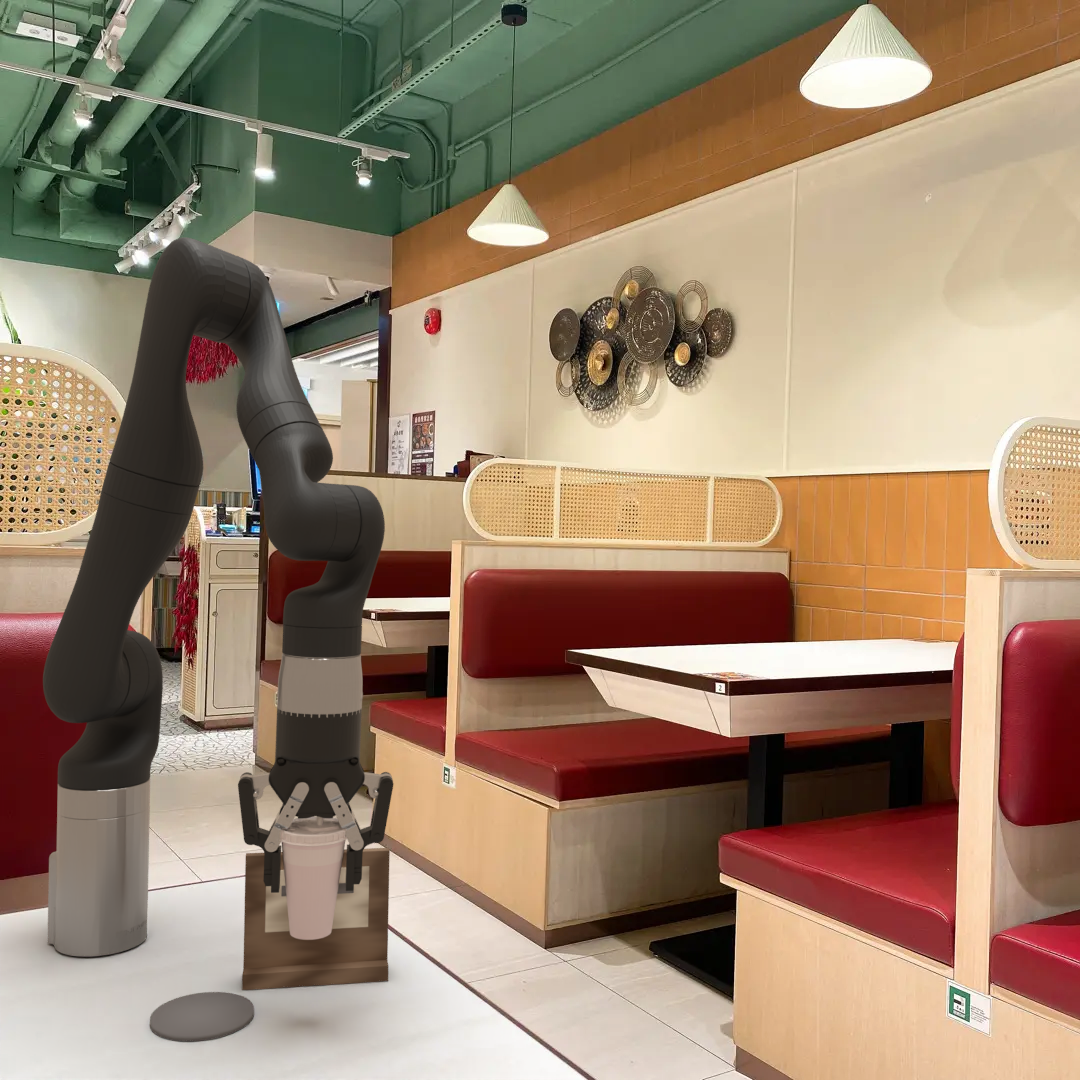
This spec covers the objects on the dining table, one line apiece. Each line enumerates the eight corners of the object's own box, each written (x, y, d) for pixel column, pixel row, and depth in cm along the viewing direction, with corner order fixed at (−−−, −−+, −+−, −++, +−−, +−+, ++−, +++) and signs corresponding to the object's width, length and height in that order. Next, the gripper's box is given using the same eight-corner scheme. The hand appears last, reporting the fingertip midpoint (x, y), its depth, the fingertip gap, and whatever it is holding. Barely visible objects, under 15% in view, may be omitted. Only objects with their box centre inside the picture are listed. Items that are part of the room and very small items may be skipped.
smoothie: (329, 949, 93) (334, 788, 93) (261, 941, 94) (266, 782, 94) (357, 923, 99) (362, 772, 99) (293, 915, 100) (297, 767, 100)
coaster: (127, 1029, 95) (127, 1023, 95) (196, 990, 103) (196, 985, 103) (209, 1049, 91) (209, 1043, 91) (274, 1007, 99) (274, 1002, 99)
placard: (241, 990, 103) (244, 860, 103) (244, 973, 107) (247, 848, 107) (388, 980, 106) (390, 854, 106) (385, 965, 110) (387, 843, 110)
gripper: (233, 710, 91) (226, 906, 92) (402, 711, 94) (395, 901, 94) (240, 696, 99) (234, 878, 99) (397, 698, 102) (390, 874, 102)
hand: (312, 888), depth 97 cm, fingers closed on smoothie, 6 cm apart
